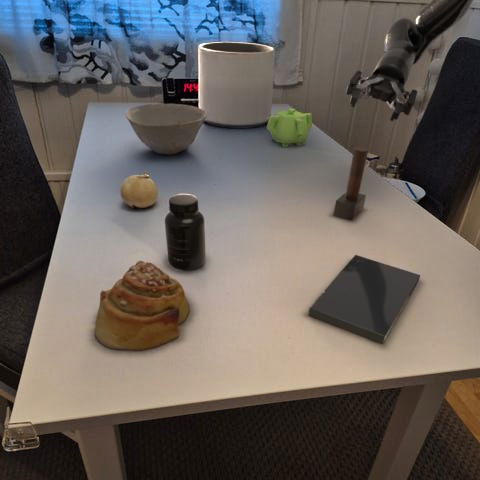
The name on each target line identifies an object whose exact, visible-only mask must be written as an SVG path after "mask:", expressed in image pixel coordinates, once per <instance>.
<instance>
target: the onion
mask: <svg viewBox="0 0 480 480" xmlns="http://www.w3.org/2000/svg"><path fill="white" fill-rule="evenodd" d="M150 177H151V176H150V175H149V174H147V170H145V171H144V173H143V174H134V175H133V174H132V175H130V176H128V177H126V178H125V179H124V180H123V182H122V184H121V185H120V189H119V190H120V191H119V193H120V198H121V199H122V200H123V202H124V203H125V204H126V205H128V206H129V207H131V208H132V209H135V207H136V208H140V209H144V208H148V207H151V206H152V205H154V204H155V203H156V201H157V199H158V196H159V191H158V187H157V185H156V183H155V182H154V181H153V180H152V179H151V178H150Z"/></svg>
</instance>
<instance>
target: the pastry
mask: <svg viewBox="0 0 480 480" xmlns="http://www.w3.org/2000/svg"><path fill="white" fill-rule="evenodd" d="M190 308H191V307H190V303H189V301H188V299H187V297H186V295H185V290H184V288H183V285H182V284H181V283H180V282H179V281H178V280H177V279H175V278H173V277H170V276H169V274H167V273H166V272H165V271H163V270H161V268H159V267H157V266H156V265H155V264H154V263H152V262H148V261H144V260H138V261H136V263H135V264H133V265H131V266H130V267H129V268H128V270H127V271H126V272H125V273H124V274H123V276H122V277H121V278H119V279H118V280H117V281H116V282H115V283H114V284H113V286H112V287H111V288H110V289H107V290H101V291H100V297H99V306H98V310H97V314H96V320H95V326H94V335H95V337H96V339H97V341H99V342H100V343H101V344H102V345H104V346H105V347H107V348H109V349H114V350H130V351H143V350H147V349H148V350H149V349H152V348H155V347H158V346H161V345H163V344H166V343H167V342H169V341H172V340H175V339H177V338H178V337H179V336H180V325H182V323H184V322H185V320H187V318H188V316H189V314H190Z"/></svg>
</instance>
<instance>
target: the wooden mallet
mask: <svg viewBox="0 0 480 480" xmlns="http://www.w3.org/2000/svg"><path fill="white" fill-rule="evenodd" d="M368 152H369V149H368V148H367V147H364V146H356V147H354V148H353V153H352V158H351V164H350V169H349V175H348V178H347V185H346V190H345V192H344V193H343V194H341V196H339V197H338V198H337V199H336V200H335V204H334V210H333V216H334V217H338V218H342V219H344V220H349V221H353V220H354V219H356V217H358V215H359V214H361V212H362V211H363V210H364V208H365V202H366V199H367V194H364V193H360V190H361V185H362V181H363V176H364V171H365V168H366V162H367V158H368Z"/></svg>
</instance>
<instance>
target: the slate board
mask: <svg viewBox="0 0 480 480" xmlns="http://www.w3.org/2000/svg"><path fill="white" fill-rule="evenodd" d="M420 278H421V275H420V274H419V273H415V272H412V271H409V270H405V269H402V268H400V267H396V266H393V265H390V264H386V263H383V262H380V261H377V260H374V259H371V258H367V257H364V256H361V255H358V254H355V255H353V257H352V258H351V259H350V260H349V261H348V263H346V265H345V266H344V267H343V268H342V270H340V271H339V273H338V274H337V275H336V276H335V278H334V279H332V281H331V282H330V283H329V284H328V286H327V287H326V288H325V289H324V290H323V292H322V293H321V294H320V295H319V296H318V298H316V299H315V300H314V302H313V303H312V305H310V306H309V308H308V315H307V316H309V317H312V318H315V319H317V320H320V321H322V322H324V323H327V324H330V325H332V326H335V327H337V328H341V329H343V330H346V331H348V332H351V333H353V334H356V335H358V336H361V337H364V338H366V339H369V340H370V341H374V342H377V343H379V344H381V345H382V344H384V342H385V340H386V339H387V337H388V335H389V334H390V332H391V331H392V328H393V327H394V325H395V323H396V322H397V320H398V318H399V316H400V314H401V313H402V311H403V309H404V308H405V306H406V305H407V302H409V301H408V300H409V299H410V297H411V295H412V293H413V292H414V290H415V288H416V286H417V285H418V283H419V281H420Z"/></svg>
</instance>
